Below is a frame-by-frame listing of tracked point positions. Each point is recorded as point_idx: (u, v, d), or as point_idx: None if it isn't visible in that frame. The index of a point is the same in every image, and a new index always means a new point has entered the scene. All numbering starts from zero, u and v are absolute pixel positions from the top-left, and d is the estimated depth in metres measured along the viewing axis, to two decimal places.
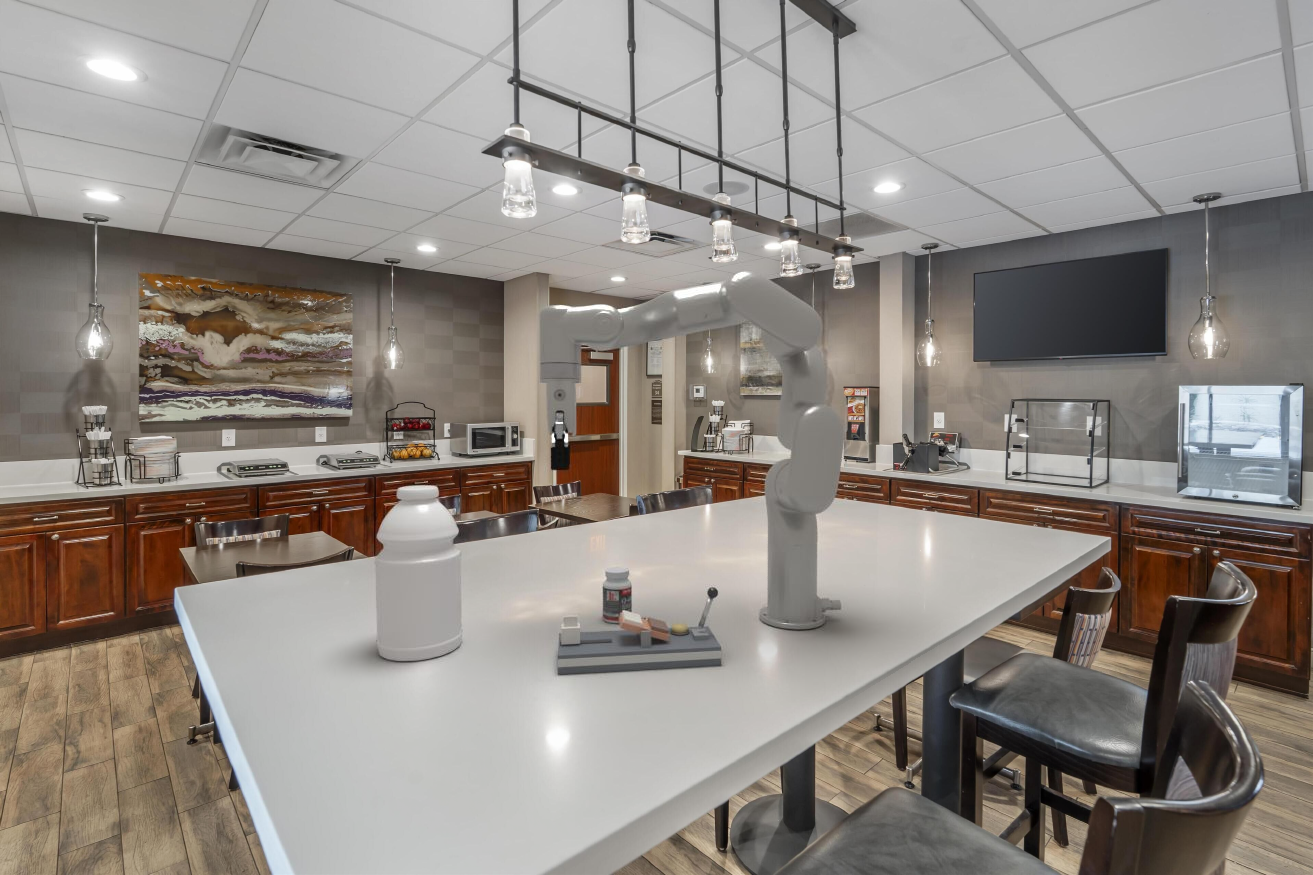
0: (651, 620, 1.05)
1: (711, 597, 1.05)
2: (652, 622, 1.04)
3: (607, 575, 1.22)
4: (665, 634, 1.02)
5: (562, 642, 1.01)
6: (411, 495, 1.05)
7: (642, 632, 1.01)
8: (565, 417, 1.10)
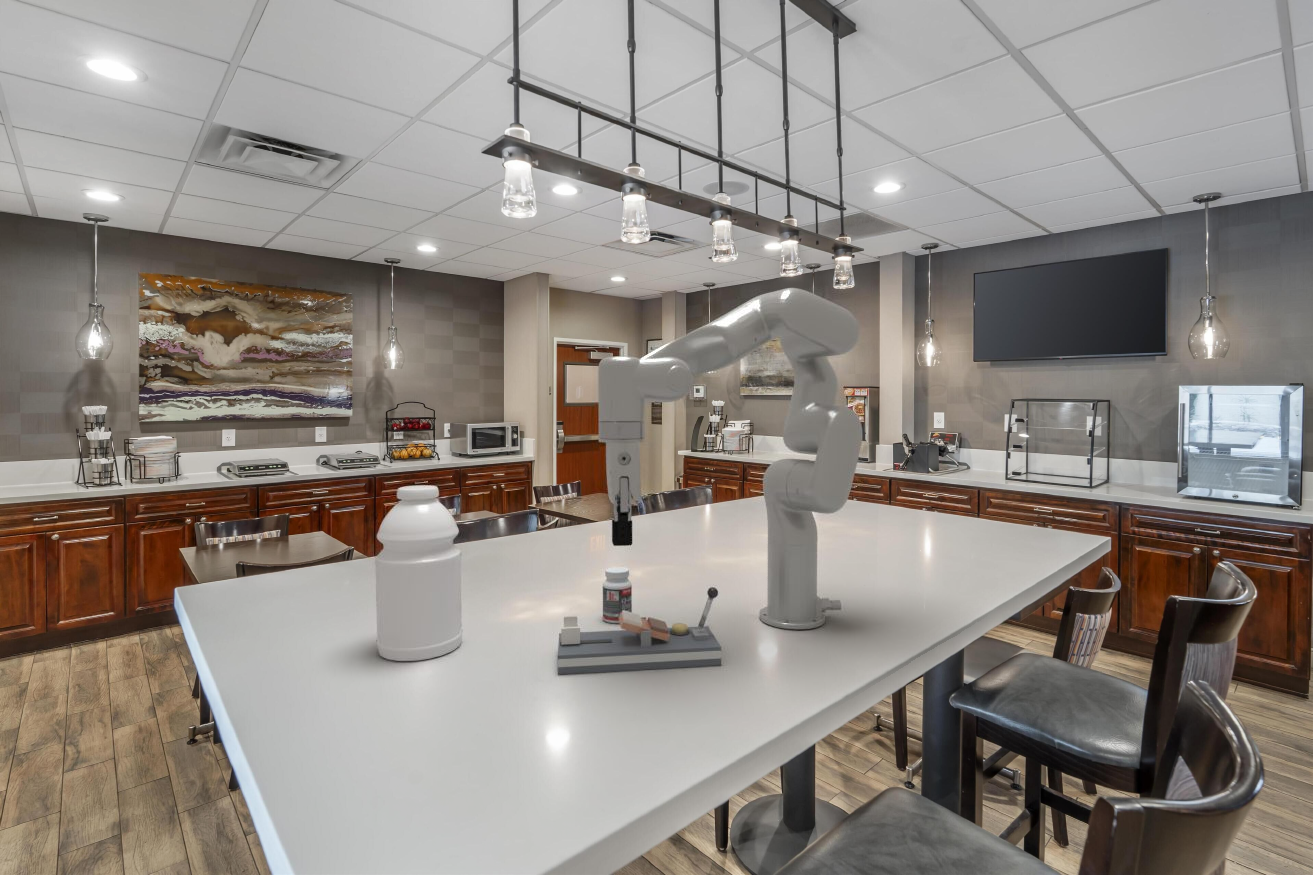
0: (651, 620, 1.05)
1: (711, 597, 1.05)
2: (652, 622, 1.04)
3: (607, 575, 1.22)
4: (665, 634, 1.02)
5: (562, 642, 1.01)
6: (411, 495, 1.05)
7: (642, 632, 1.01)
8: (630, 484, 0.98)
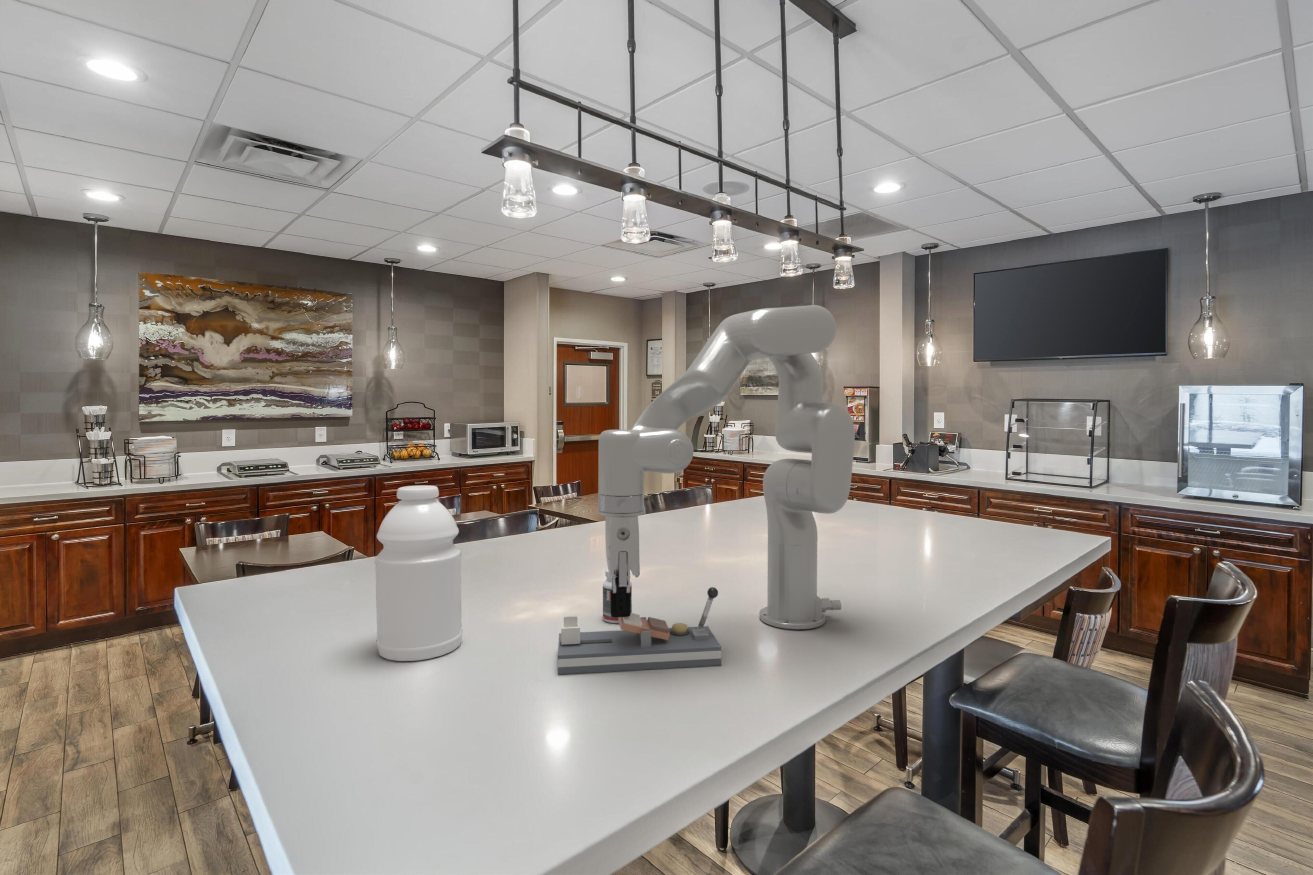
0: (651, 620, 1.05)
1: (711, 597, 1.05)
2: (652, 622, 1.04)
3: (607, 575, 1.22)
4: (665, 633, 1.02)
5: (562, 642, 1.01)
6: (411, 495, 1.05)
7: (642, 632, 1.01)
8: (629, 559, 0.98)
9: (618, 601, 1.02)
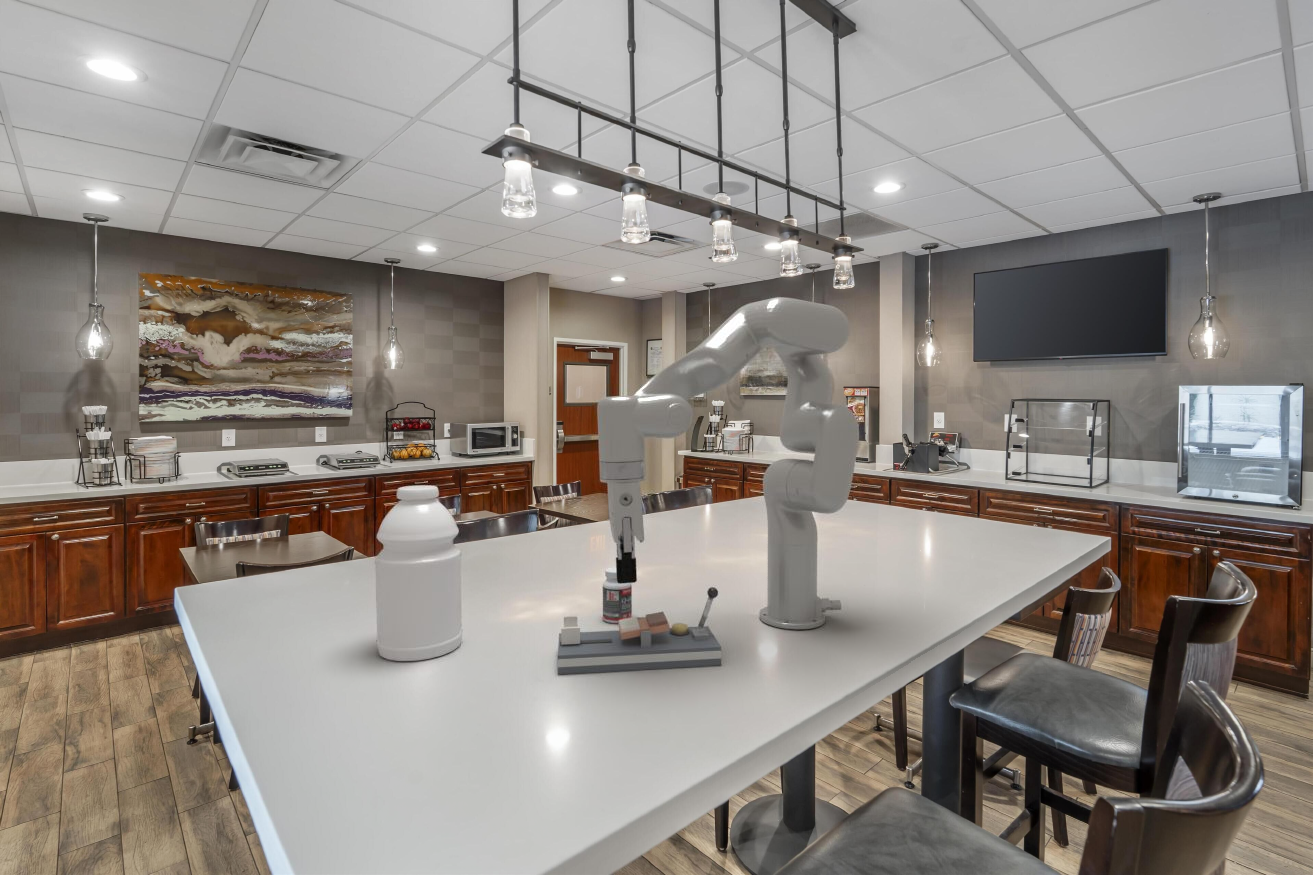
0: (648, 617, 1.05)
1: (711, 597, 1.05)
2: (650, 619, 1.04)
3: (607, 575, 1.22)
4: (665, 624, 1.02)
5: (562, 642, 1.01)
6: (411, 495, 1.05)
7: (642, 632, 1.01)
8: (633, 524, 0.98)
9: (624, 567, 1.02)
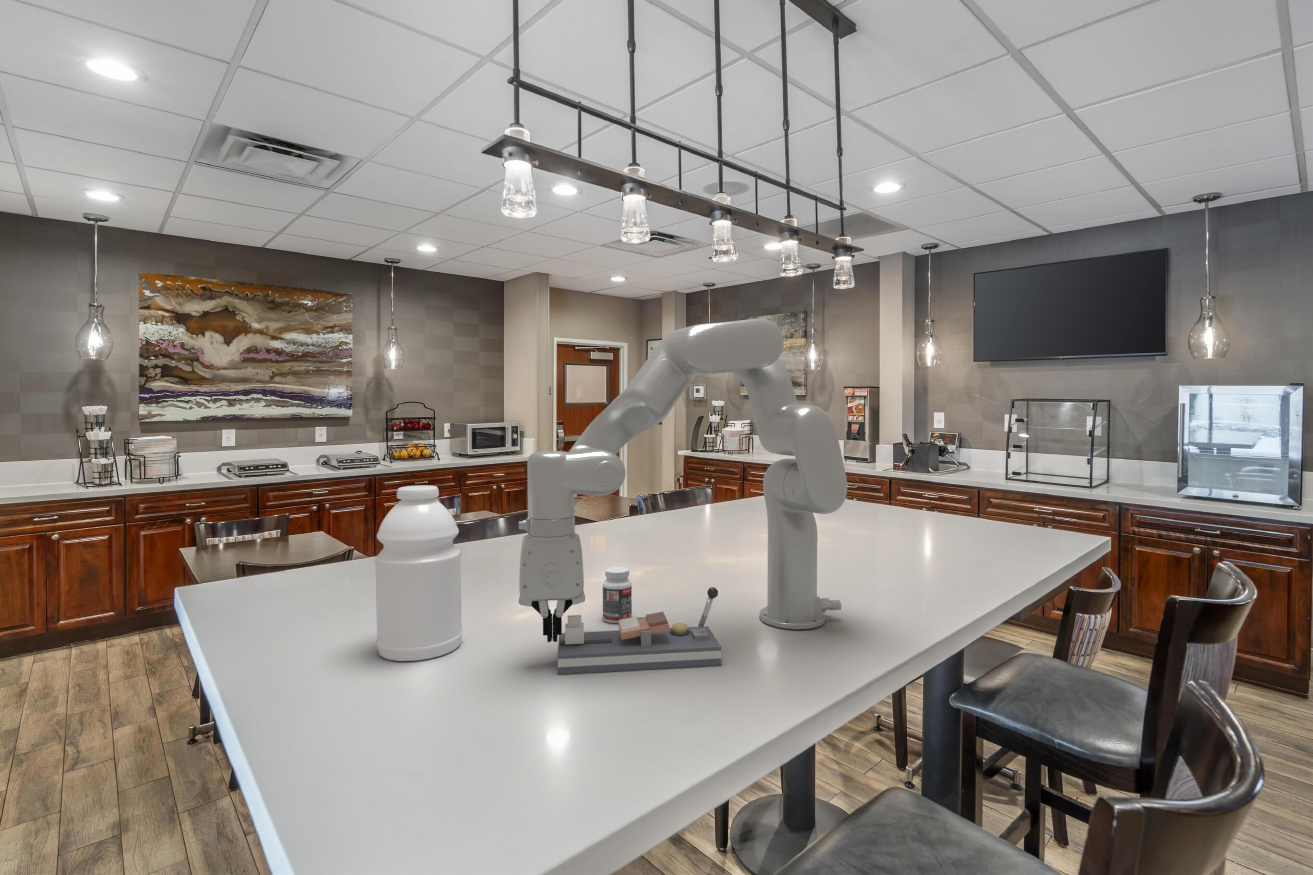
0: (648, 617, 1.05)
1: (711, 597, 1.05)
2: (650, 619, 1.04)
3: (607, 575, 1.22)
4: (665, 624, 1.02)
5: (566, 641, 1.01)
6: (411, 495, 1.05)
7: (642, 632, 1.01)
8: (519, 578, 1.00)
9: None
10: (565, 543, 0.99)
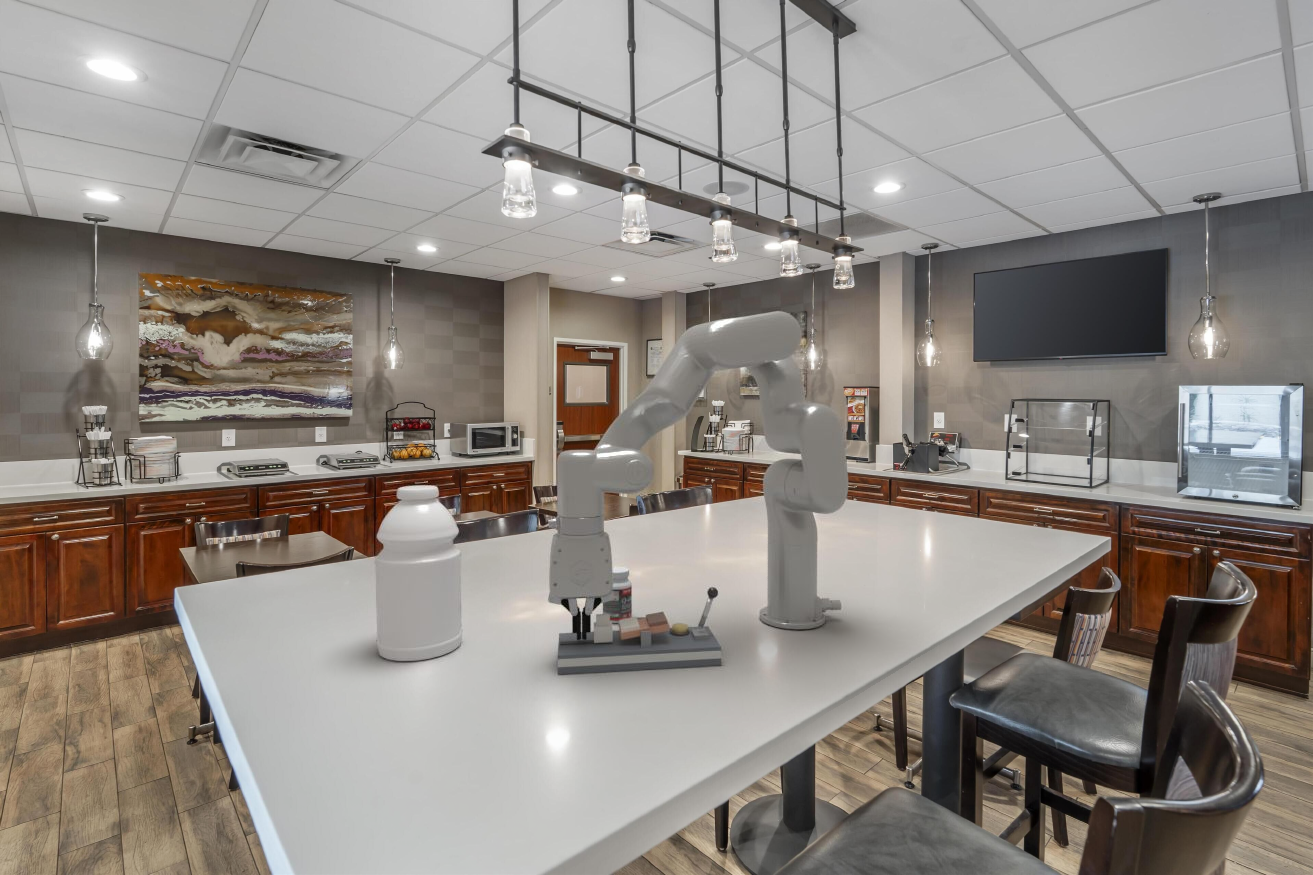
0: (648, 617, 1.05)
1: (711, 597, 1.05)
2: (650, 619, 1.04)
3: None
4: (665, 624, 1.02)
5: (595, 640, 1.02)
6: (411, 495, 1.05)
7: (642, 632, 1.01)
8: (549, 576, 1.01)
9: None
10: (594, 541, 1.00)
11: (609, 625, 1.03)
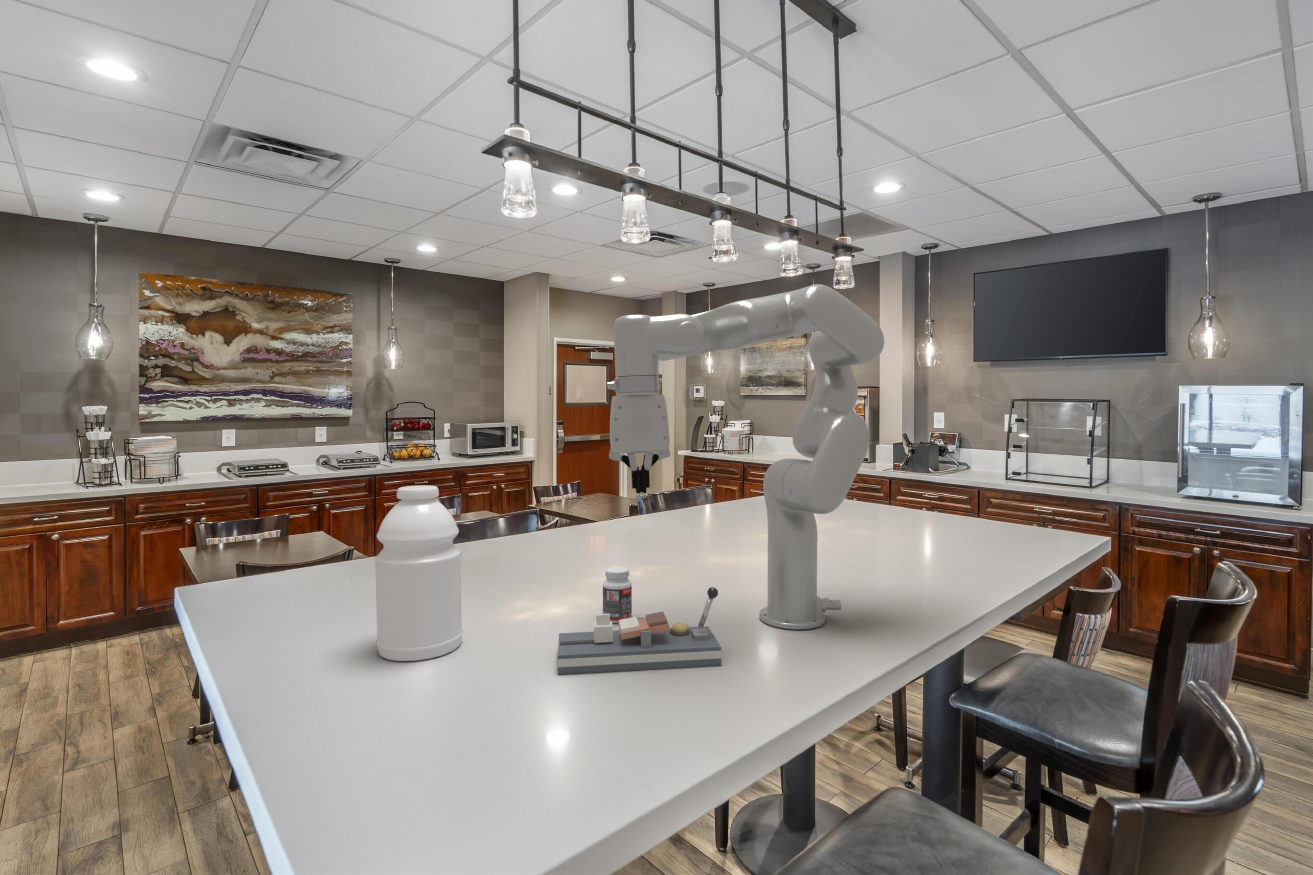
0: (648, 617, 1.05)
1: (711, 597, 1.05)
2: (650, 619, 1.04)
3: (607, 575, 1.22)
4: (665, 624, 1.02)
5: (595, 640, 1.02)
6: (411, 495, 1.05)
7: (642, 632, 1.01)
8: (610, 433, 1.08)
9: None
10: (652, 399, 1.07)
11: (609, 625, 1.03)
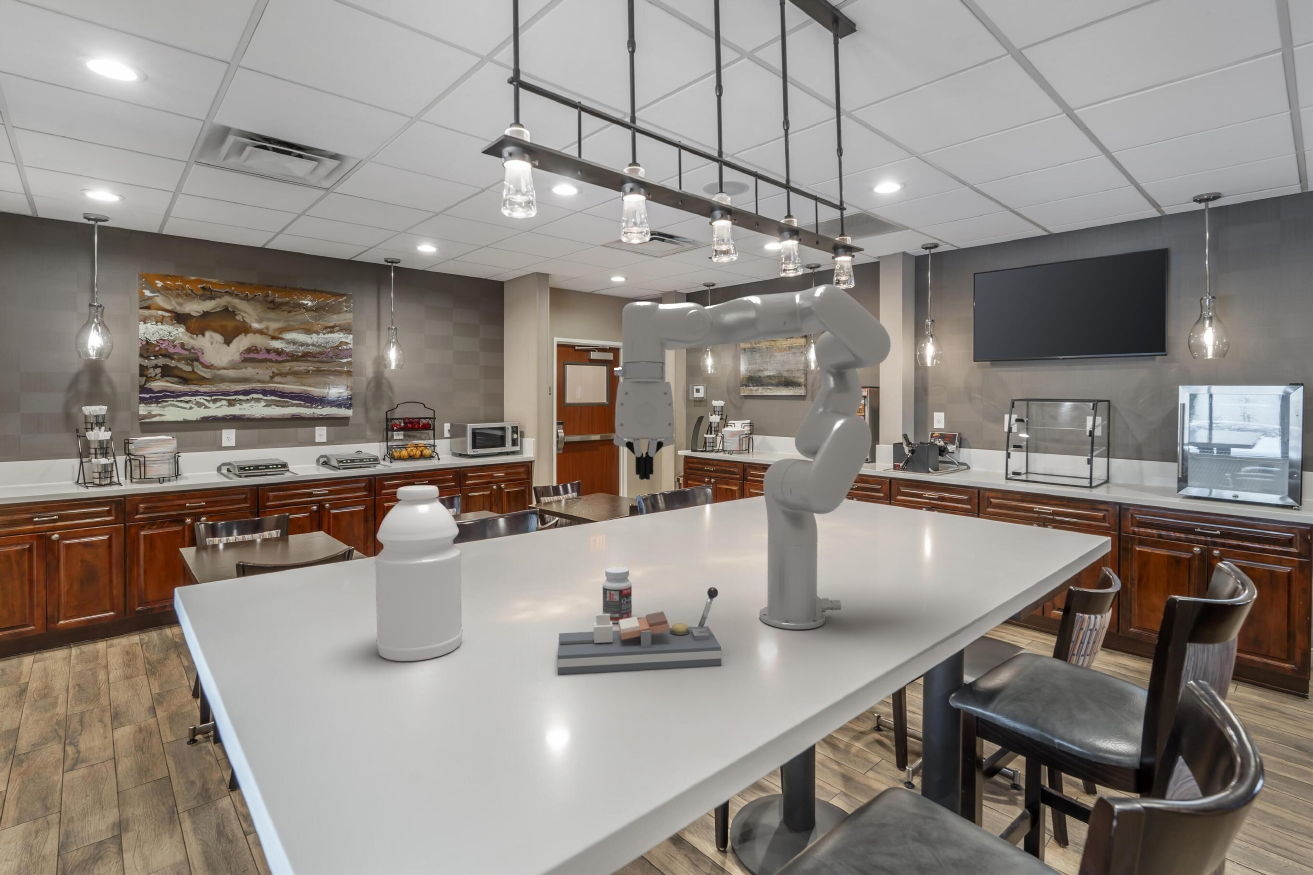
0: (648, 617, 1.05)
1: (711, 597, 1.05)
2: (650, 619, 1.04)
3: (607, 575, 1.22)
4: (665, 624, 1.02)
5: (595, 640, 1.02)
6: (411, 495, 1.05)
7: (642, 632, 1.01)
8: (615, 419, 1.08)
9: (635, 463, 1.11)
10: (658, 385, 1.08)
11: (609, 625, 1.03)
